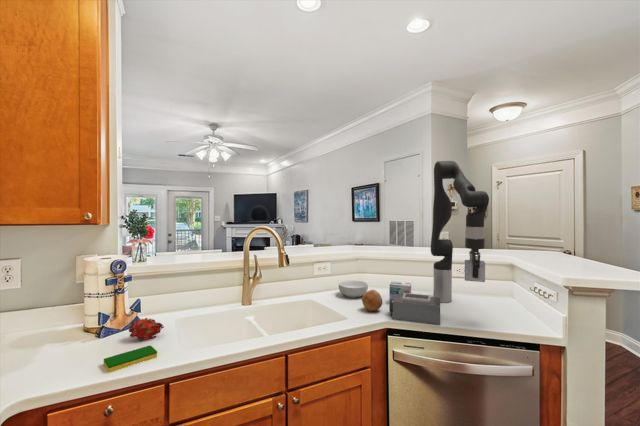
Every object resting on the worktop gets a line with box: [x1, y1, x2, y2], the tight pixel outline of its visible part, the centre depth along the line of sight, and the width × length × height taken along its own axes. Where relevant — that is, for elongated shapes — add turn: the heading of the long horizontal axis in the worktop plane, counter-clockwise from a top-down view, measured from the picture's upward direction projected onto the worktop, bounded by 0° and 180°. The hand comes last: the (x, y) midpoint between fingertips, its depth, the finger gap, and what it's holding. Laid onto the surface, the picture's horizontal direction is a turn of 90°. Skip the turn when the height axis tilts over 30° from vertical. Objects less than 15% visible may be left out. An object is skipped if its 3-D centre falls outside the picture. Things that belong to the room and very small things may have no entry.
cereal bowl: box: [338, 280, 369, 299], centre depth 176 cm, size 17×17×7 cm
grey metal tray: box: [388, 292, 441, 326], centre depth 141 cm, size 14×22×10 cm, turn 70°
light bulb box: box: [388, 280, 412, 304], centre depth 161 cm, size 11×7×11 cm, turn 68°
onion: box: [361, 289, 383, 312], centre depth 150 cm, size 10×10×10 cm
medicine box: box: [464, 259, 486, 283], centre depth 133 cm, size 8×4×9 cm, turn 65°
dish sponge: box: [103, 345, 158, 373], centre depth 100 cm, size 7×14×2 cm, turn 136°
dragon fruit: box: [128, 317, 165, 342], centre depth 118 cm, size 8×8×12 cm
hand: (474, 276), depth 133 cm, fingers closed on medicine box, 4 cm apart
